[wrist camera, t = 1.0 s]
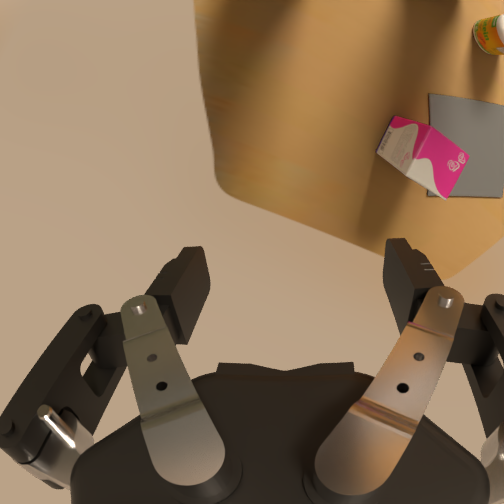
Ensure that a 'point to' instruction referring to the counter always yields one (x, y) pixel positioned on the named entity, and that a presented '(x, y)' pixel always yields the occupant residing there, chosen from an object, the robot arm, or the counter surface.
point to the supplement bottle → (490, 34)
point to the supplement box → (423, 155)
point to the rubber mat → (473, 142)
